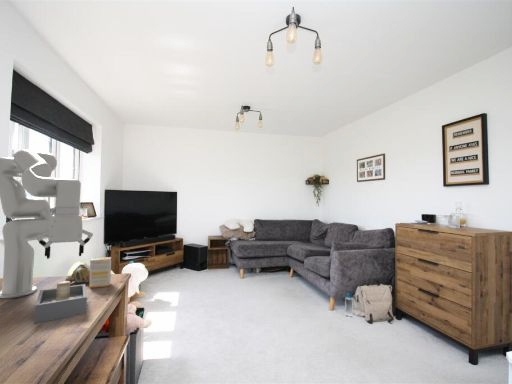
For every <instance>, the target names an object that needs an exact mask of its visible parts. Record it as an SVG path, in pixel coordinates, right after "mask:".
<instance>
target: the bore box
mask: <svg viewBox="0 0 512 384" xmlns="http://www.w3.org/2000/svg"><path fill="white" fill-rule="evenodd" d="M56 294H57V287H55V288H53V287H52V288H48V289H47V288H46V289H41V290H40V289H39V292H38V296H37V298H36V301H35V305H34V314H33V315H34V319H33V324H39V323H43V322H48V321H49V322H50V321H54V320H59V319H65V318H71V317H77V316H81V315H84V314H87V301H88V300H87V299H88V297H87V287H86V283H83V284H77V285H76V284H75V285H70V297H69V299H66V300H60V301H56Z"/></svg>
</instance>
